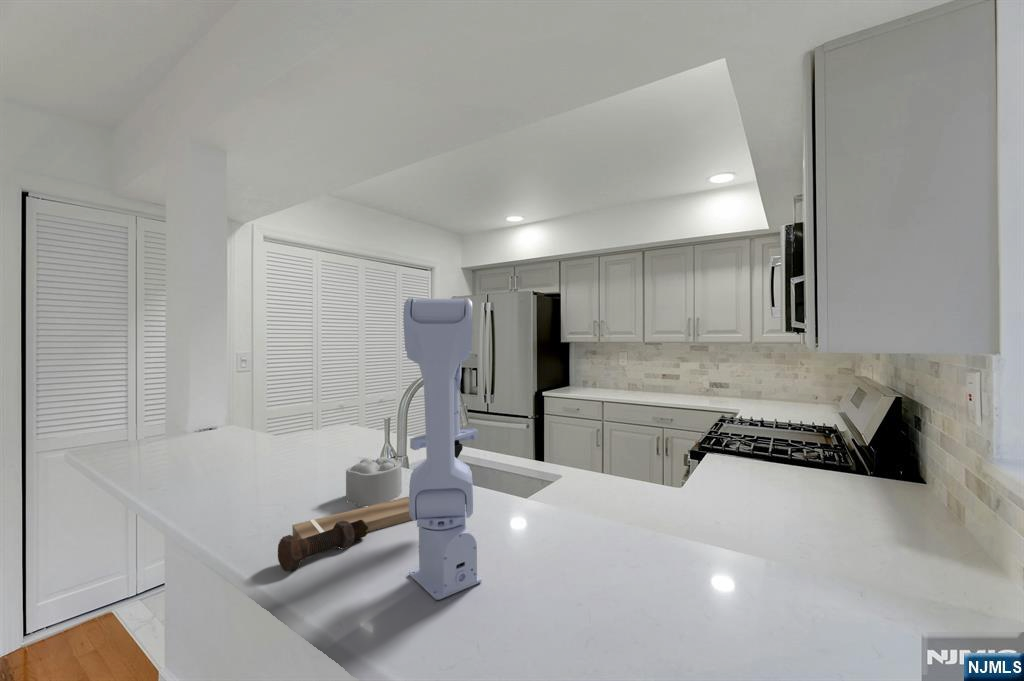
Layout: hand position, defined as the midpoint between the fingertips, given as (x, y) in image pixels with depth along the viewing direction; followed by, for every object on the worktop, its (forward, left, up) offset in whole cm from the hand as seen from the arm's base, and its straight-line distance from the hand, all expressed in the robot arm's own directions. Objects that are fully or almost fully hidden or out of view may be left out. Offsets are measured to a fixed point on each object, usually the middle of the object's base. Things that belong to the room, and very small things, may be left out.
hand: (445, 479), depth 88 cm
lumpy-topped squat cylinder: (+26, +4, -10) cm, 28 cm away
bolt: (+4, +22, -10) cm, 24 cm away
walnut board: (+11, +13, -9) cm, 20 cm away
